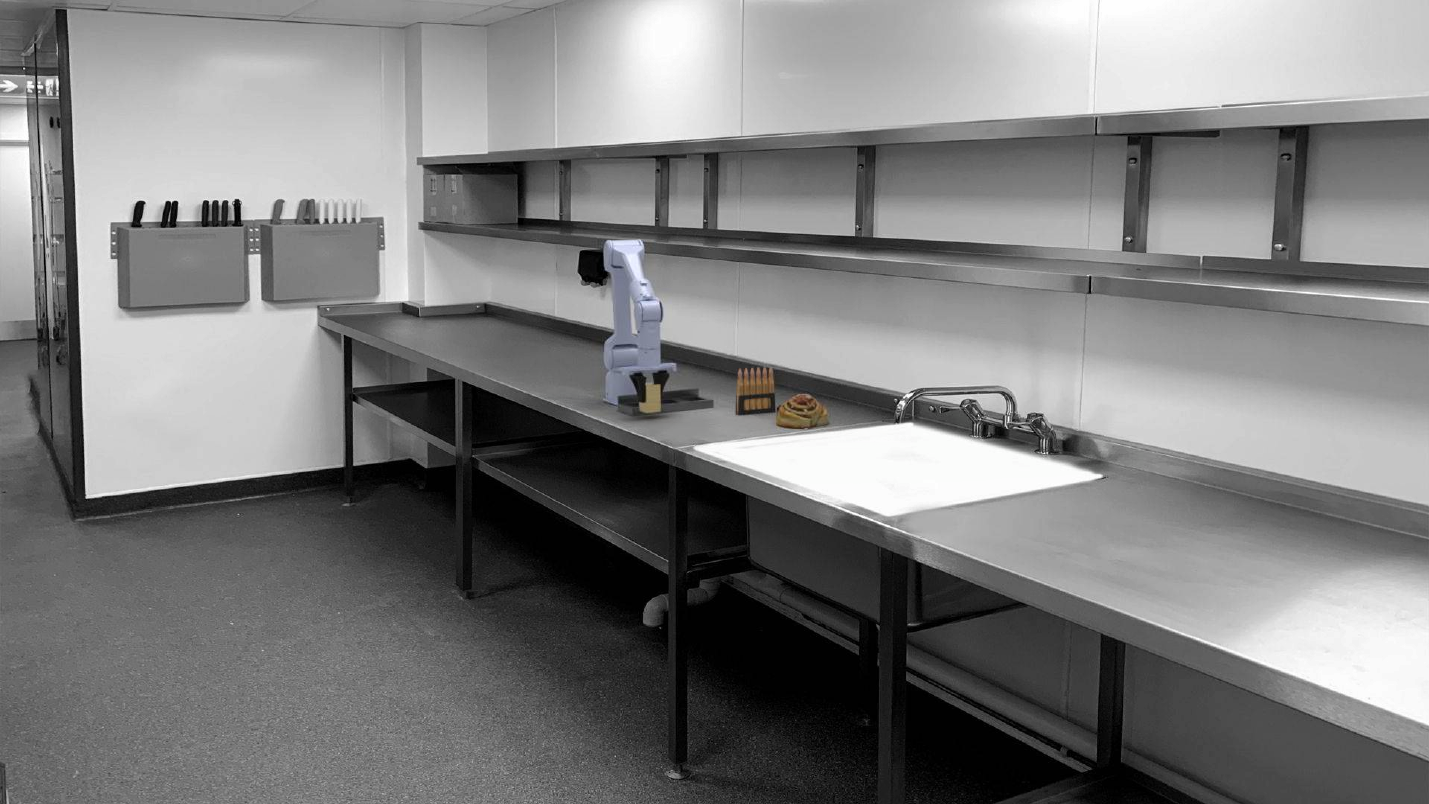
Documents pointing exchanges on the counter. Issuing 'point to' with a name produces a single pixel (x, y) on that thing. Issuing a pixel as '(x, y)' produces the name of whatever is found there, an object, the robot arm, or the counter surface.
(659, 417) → the counter surface
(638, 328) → the robot arm
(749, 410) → the ammunition clip
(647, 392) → the brass peg
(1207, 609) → the counter surface
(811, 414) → the pastry
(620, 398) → the charcoal rail
